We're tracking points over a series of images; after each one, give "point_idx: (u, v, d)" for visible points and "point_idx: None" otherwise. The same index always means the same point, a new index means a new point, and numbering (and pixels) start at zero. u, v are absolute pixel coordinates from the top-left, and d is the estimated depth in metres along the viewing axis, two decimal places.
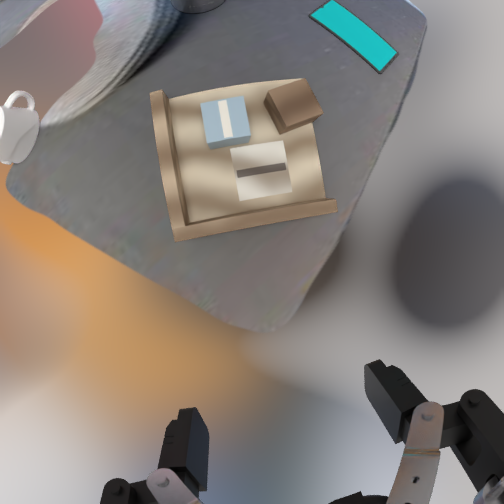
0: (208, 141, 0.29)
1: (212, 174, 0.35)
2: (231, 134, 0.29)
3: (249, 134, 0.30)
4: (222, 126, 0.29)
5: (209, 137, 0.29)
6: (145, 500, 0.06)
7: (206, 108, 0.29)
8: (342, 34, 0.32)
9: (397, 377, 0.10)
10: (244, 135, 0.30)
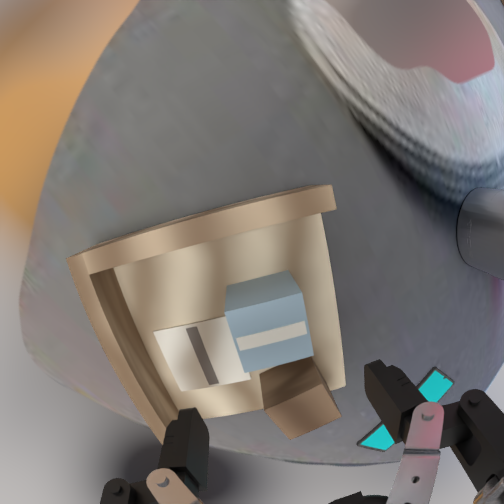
0: (227, 314, 0.17)
1: (186, 291, 0.22)
2: (244, 347, 0.18)
3: (245, 371, 0.18)
4: (257, 333, 0.18)
5: (235, 314, 0.17)
6: (145, 500, 0.06)
7: (292, 304, 0.17)
8: None
9: (397, 377, 0.10)
10: (243, 364, 0.18)
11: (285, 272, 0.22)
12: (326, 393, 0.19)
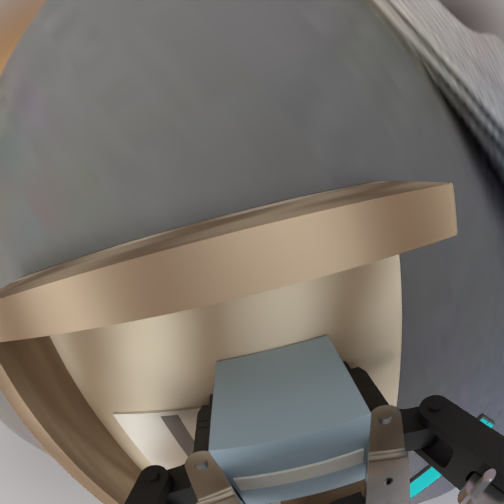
0: (215, 453, 0.07)
1: (155, 367, 0.12)
2: (248, 486, 0.07)
3: None
4: (274, 473, 0.07)
5: (232, 454, 0.07)
6: (181, 491, 0.07)
7: (347, 433, 0.07)
8: None
9: (361, 379, 0.11)
10: (246, 499, 0.08)
11: (323, 341, 0.11)
12: None
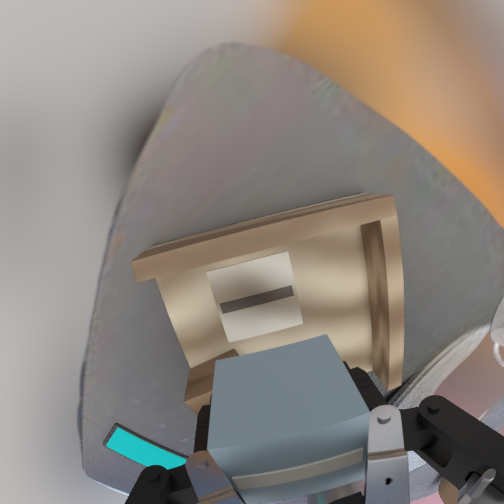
0: (214, 451, 0.07)
1: (326, 286, 0.24)
2: (247, 485, 0.07)
3: (249, 503, 0.08)
4: (273, 472, 0.07)
5: (230, 453, 0.07)
6: (181, 491, 0.07)
7: (346, 432, 0.07)
8: (171, 456, 0.29)
9: (360, 379, 0.11)
10: (245, 498, 0.08)
11: (323, 340, 0.11)
12: None
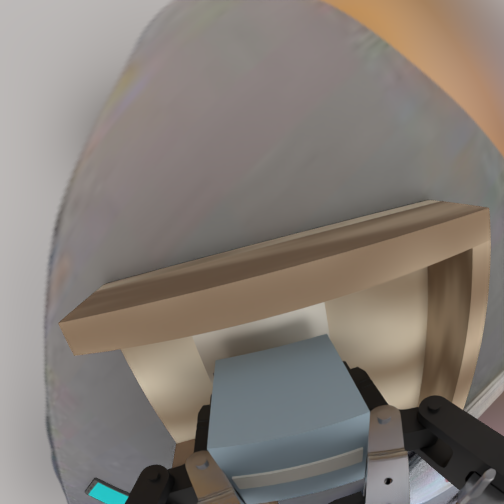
0: (214, 451, 0.07)
1: (374, 340, 0.15)
2: (247, 485, 0.07)
3: (249, 503, 0.08)
4: (273, 471, 0.07)
5: (230, 452, 0.07)
6: (181, 491, 0.07)
7: (346, 431, 0.07)
8: None
9: (360, 379, 0.11)
10: (245, 498, 0.08)
11: (323, 340, 0.11)
12: None
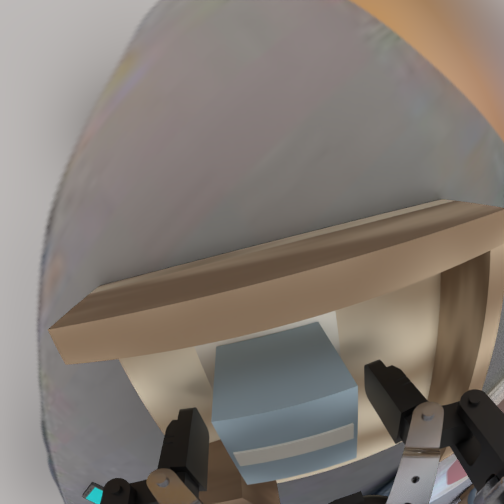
0: (217, 424, 0.08)
1: (385, 346, 0.14)
2: (246, 461, 0.09)
3: (249, 483, 0.09)
4: (271, 447, 0.08)
5: (232, 425, 0.08)
6: (145, 500, 0.06)
7: (337, 405, 0.08)
8: None
9: (397, 377, 0.10)
10: (245, 477, 0.09)
11: (314, 327, 0.12)
12: None
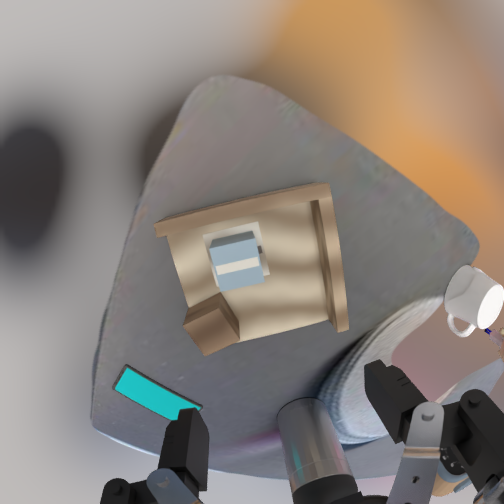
0: (211, 250, 0.30)
1: (286, 247, 0.36)
2: (220, 273, 0.30)
3: (221, 290, 0.31)
4: (228, 263, 0.30)
5: (215, 250, 0.30)
6: (145, 500, 0.06)
7: (249, 245, 0.30)
8: (168, 395, 0.41)
9: (397, 377, 0.10)
10: (219, 285, 0.31)
11: (250, 231, 0.34)
12: (230, 344, 0.33)
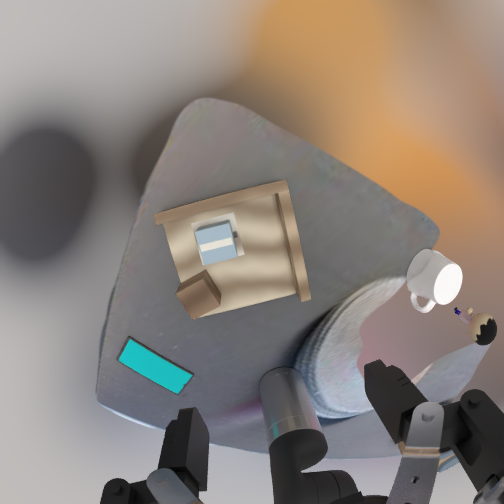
0: (196, 233, 0.39)
1: (257, 232, 0.45)
2: (203, 250, 0.40)
3: (204, 264, 0.40)
4: (209, 243, 0.40)
5: (199, 233, 0.39)
6: (145, 500, 0.06)
7: (224, 228, 0.39)
8: (164, 363, 0.50)
9: (397, 377, 0.10)
10: (203, 260, 0.40)
11: (227, 220, 0.44)
12: (212, 309, 0.42)
